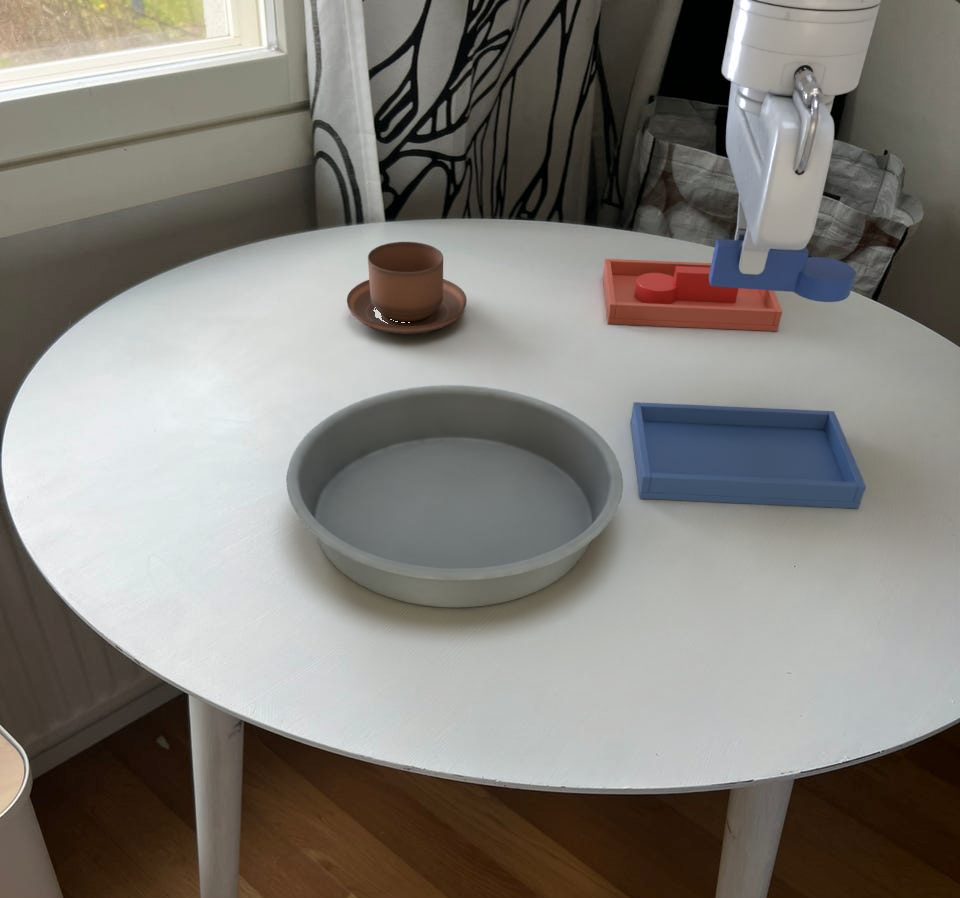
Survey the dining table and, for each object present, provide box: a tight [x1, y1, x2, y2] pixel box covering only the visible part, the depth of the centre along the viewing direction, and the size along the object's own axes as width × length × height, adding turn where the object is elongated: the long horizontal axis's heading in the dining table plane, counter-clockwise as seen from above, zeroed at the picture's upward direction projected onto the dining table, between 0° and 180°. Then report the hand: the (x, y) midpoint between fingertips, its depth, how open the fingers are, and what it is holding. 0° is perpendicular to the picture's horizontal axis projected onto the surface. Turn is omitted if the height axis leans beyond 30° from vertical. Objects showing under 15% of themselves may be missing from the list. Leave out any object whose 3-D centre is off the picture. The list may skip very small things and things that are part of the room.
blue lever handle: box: [709, 238, 857, 303], centre depth 71 cm, size 10×4×3 cm, turn 84°
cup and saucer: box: [346, 241, 468, 335], centre depth 94 cm, size 12×12×6 cm
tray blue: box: [630, 401, 867, 510], centre depth 78 cm, size 17×11×2 cm, turn 87°
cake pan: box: [285, 384, 624, 608], centre depth 71 cm, size 25×25×4 cm
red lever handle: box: [635, 266, 739, 304], centre depth 99 cm, size 10×4×3 cm, turn 87°
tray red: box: [602, 258, 783, 332], centre depth 100 cm, size 17×11×2 cm, turn 87°
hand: (747, 262), depth 71 cm, fingers closed on blue lever handle
